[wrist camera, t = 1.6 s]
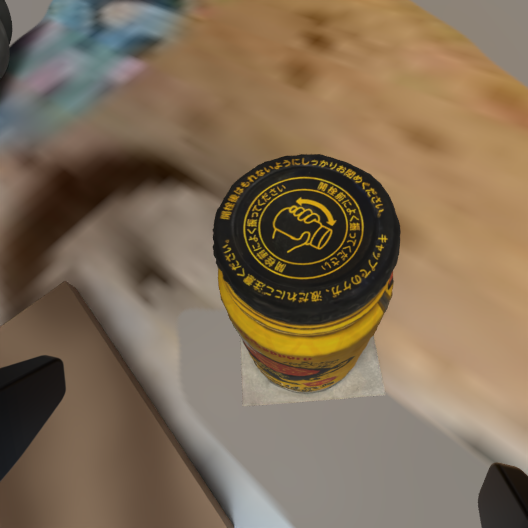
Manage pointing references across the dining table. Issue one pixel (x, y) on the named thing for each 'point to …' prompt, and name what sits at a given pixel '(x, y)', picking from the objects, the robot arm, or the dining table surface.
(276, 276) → the condiment
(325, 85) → the dining table surface
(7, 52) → the bundt pan
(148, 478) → the walnut board
